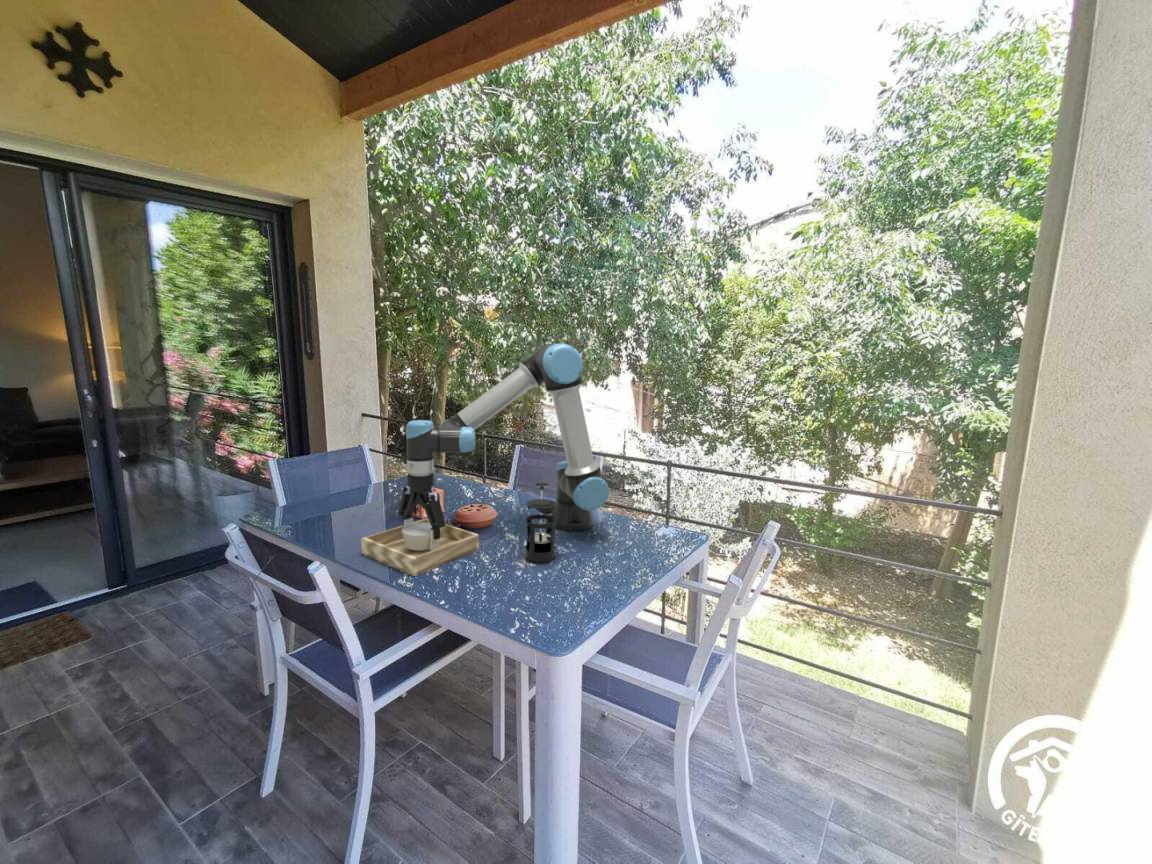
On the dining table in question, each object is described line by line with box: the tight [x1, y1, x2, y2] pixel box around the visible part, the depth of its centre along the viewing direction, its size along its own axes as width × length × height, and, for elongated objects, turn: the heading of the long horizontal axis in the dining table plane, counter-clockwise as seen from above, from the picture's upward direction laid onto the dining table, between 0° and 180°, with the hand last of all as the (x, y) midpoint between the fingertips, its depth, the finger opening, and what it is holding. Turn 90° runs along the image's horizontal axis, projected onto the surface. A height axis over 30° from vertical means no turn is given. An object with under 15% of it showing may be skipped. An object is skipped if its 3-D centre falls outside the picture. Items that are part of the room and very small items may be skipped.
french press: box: [523, 481, 557, 565], centre depth 151 cm, size 12×9×23 cm
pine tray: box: [360, 517, 480, 577], centre depth 153 cm, size 24×24×5 cm
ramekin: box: [402, 523, 441, 550], centre depth 153 cm, size 11×11×5 cm
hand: (421, 544), depth 153 cm, fingers closed on ramekin, 11 cm apart
